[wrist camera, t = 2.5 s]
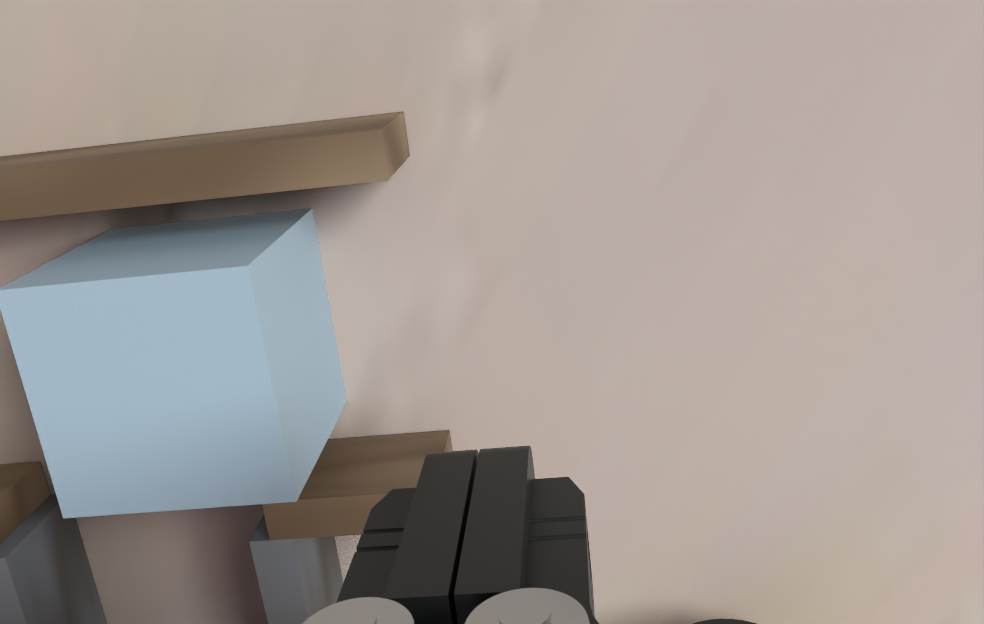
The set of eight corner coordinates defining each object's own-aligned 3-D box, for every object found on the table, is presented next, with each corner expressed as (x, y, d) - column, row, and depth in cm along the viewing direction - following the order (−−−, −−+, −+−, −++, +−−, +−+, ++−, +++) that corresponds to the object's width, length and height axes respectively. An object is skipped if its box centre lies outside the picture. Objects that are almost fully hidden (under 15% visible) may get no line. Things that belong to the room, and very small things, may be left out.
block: (112, 228, 22) (-5, 290, 18) (313, 207, 22) (248, 265, 17) (159, 415, 24) (63, 518, 19) (347, 400, 23) (296, 501, 19)
